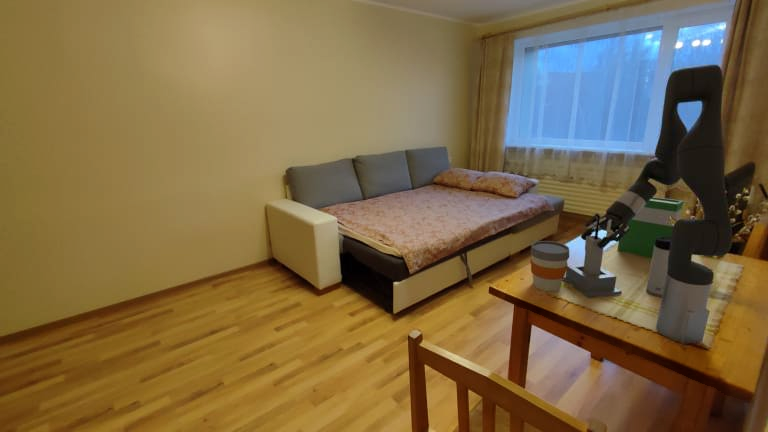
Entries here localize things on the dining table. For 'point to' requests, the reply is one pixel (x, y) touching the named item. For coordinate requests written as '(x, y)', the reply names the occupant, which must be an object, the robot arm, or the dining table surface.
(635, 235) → the hardback book
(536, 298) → the dining table surface
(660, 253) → the travel mug
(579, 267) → the box
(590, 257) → the vintage mobile phone
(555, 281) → the reusable coffee cup
